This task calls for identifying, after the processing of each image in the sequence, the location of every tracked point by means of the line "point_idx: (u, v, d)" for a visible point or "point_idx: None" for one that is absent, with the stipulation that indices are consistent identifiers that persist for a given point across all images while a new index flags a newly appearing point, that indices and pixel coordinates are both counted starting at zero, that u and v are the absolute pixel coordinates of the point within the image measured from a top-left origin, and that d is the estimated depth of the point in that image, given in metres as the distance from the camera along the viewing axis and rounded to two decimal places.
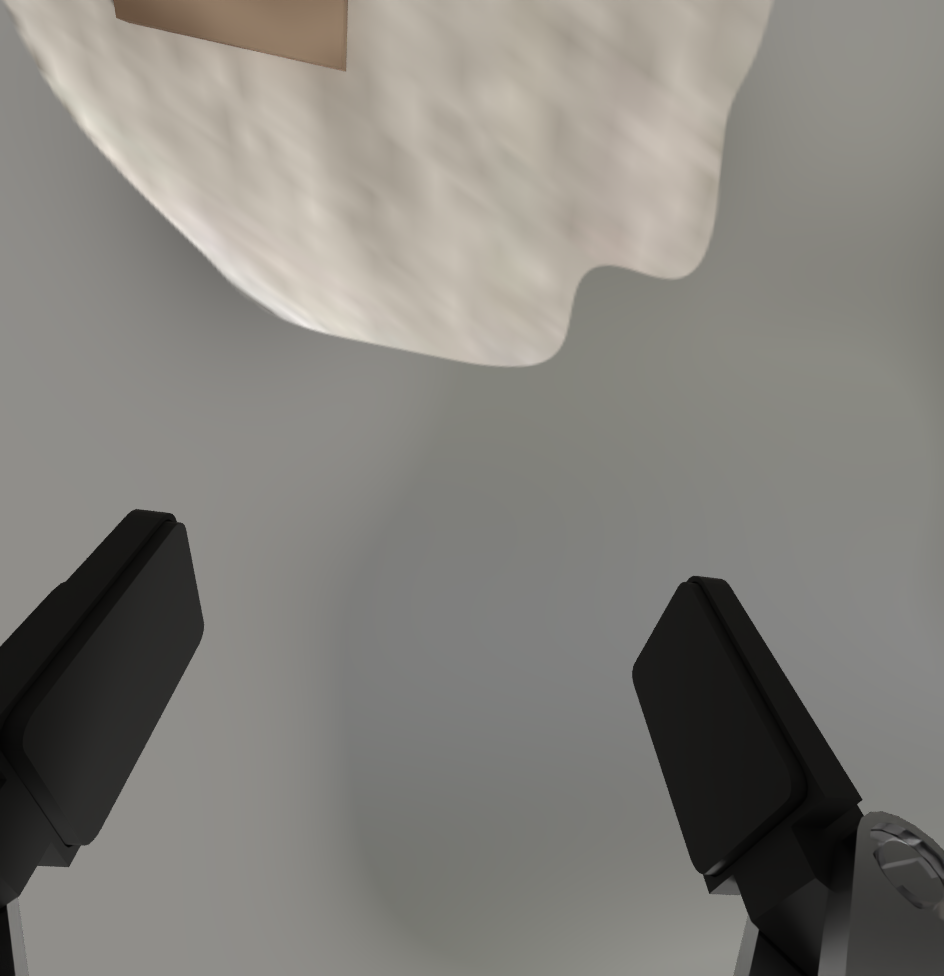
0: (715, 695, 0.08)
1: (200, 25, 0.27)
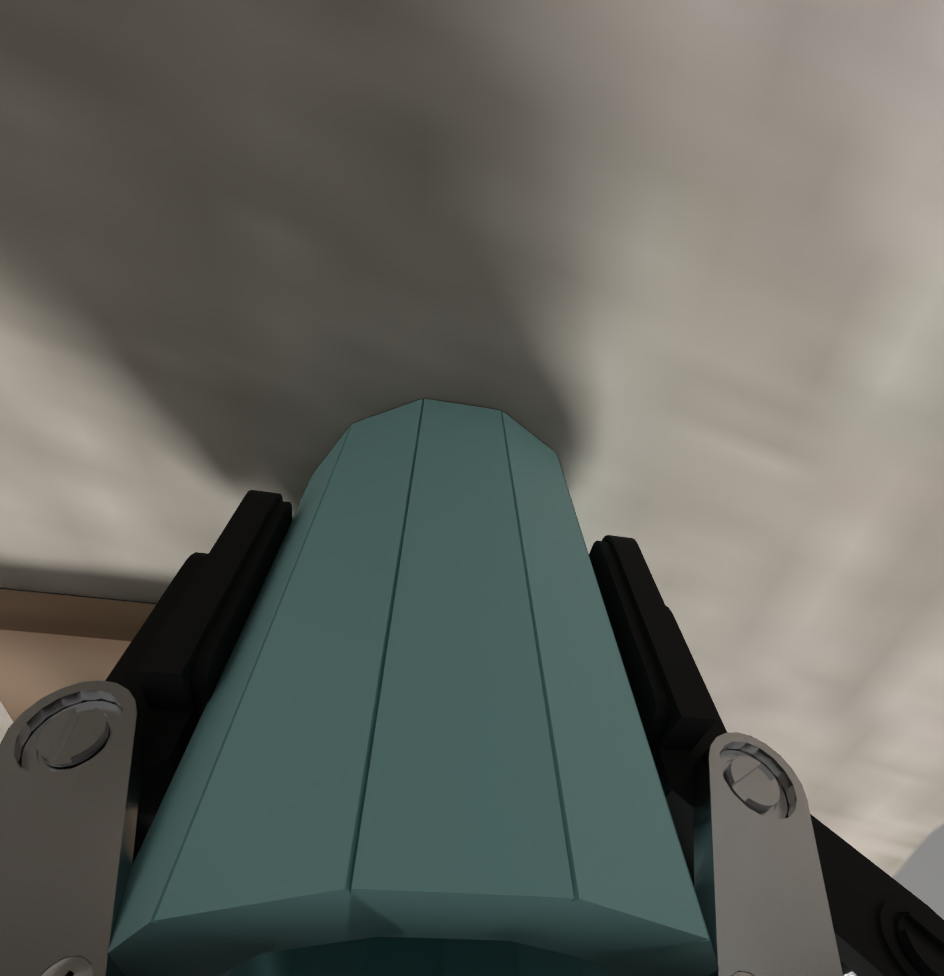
0: None
1: None
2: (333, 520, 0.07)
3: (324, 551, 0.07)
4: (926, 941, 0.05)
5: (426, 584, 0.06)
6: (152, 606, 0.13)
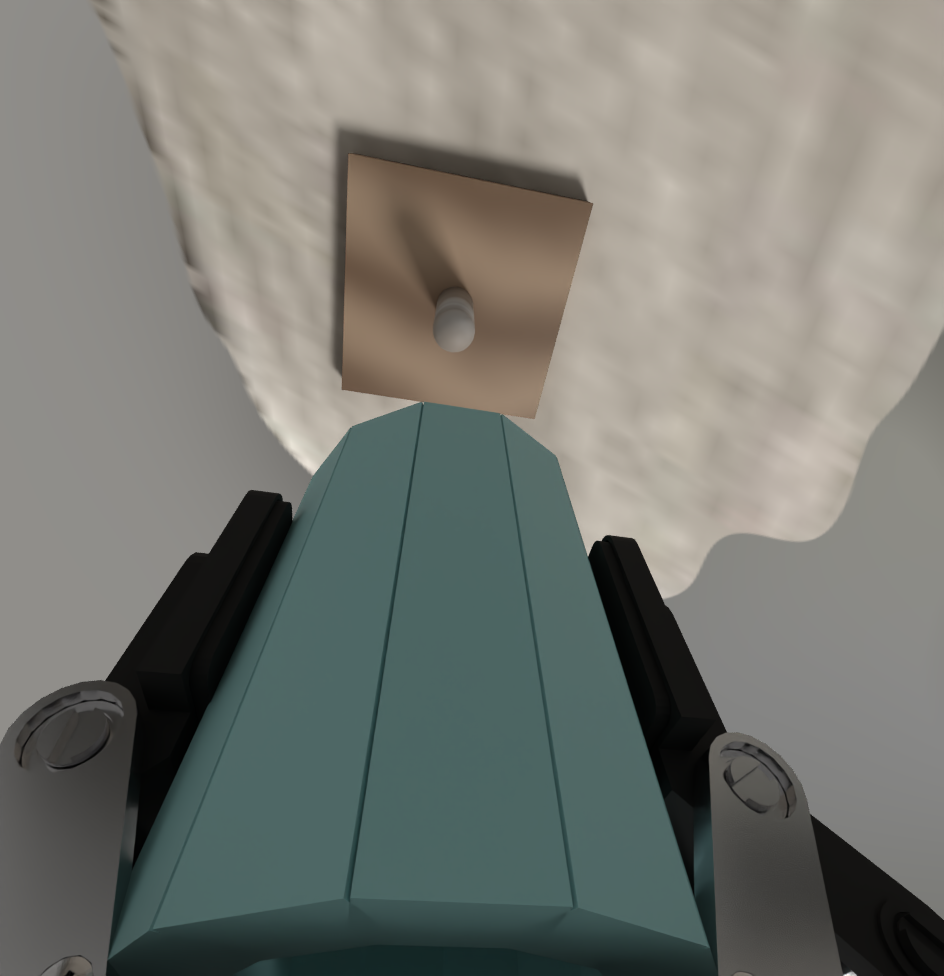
0: None
1: (415, 393, 0.30)
2: (333, 524, 0.07)
3: (323, 555, 0.07)
4: (926, 941, 0.05)
5: (425, 589, 0.06)
6: (431, 169, 0.25)
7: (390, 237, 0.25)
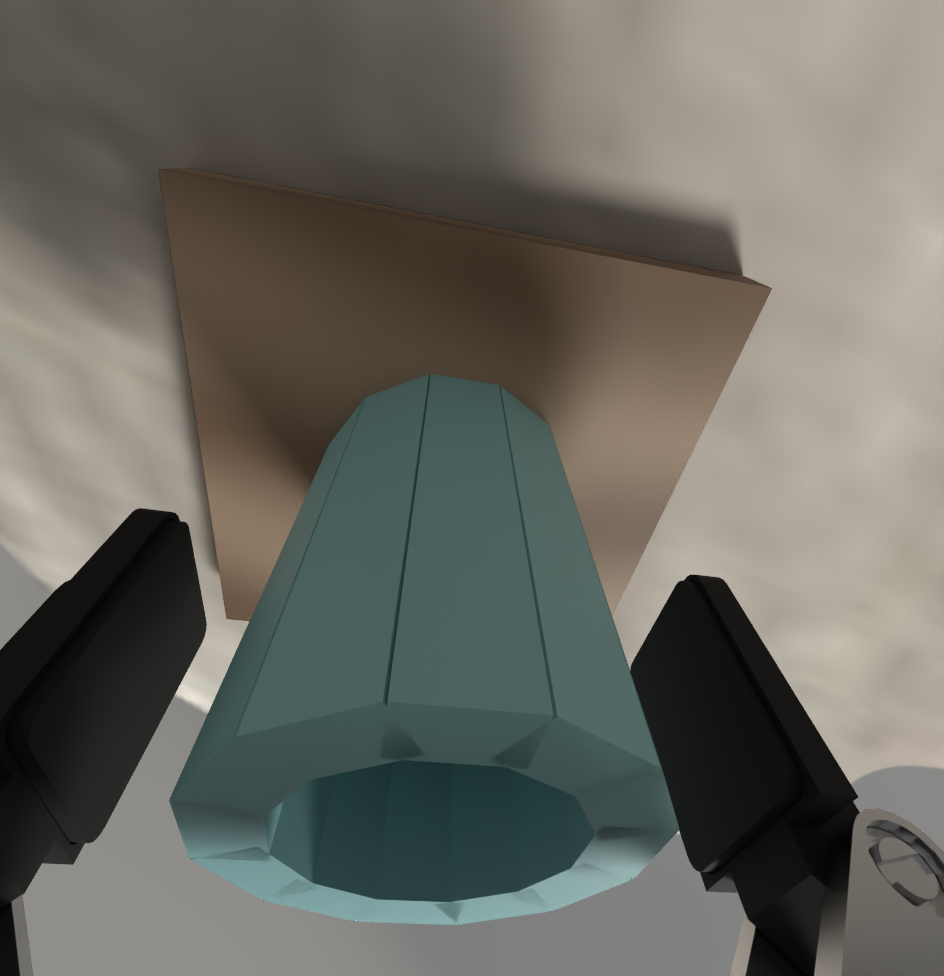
0: (712, 693, 0.08)
1: None
2: (354, 471, 0.08)
3: (348, 494, 0.08)
4: None
5: (436, 513, 0.07)
6: (383, 206, 0.10)
7: (291, 361, 0.11)
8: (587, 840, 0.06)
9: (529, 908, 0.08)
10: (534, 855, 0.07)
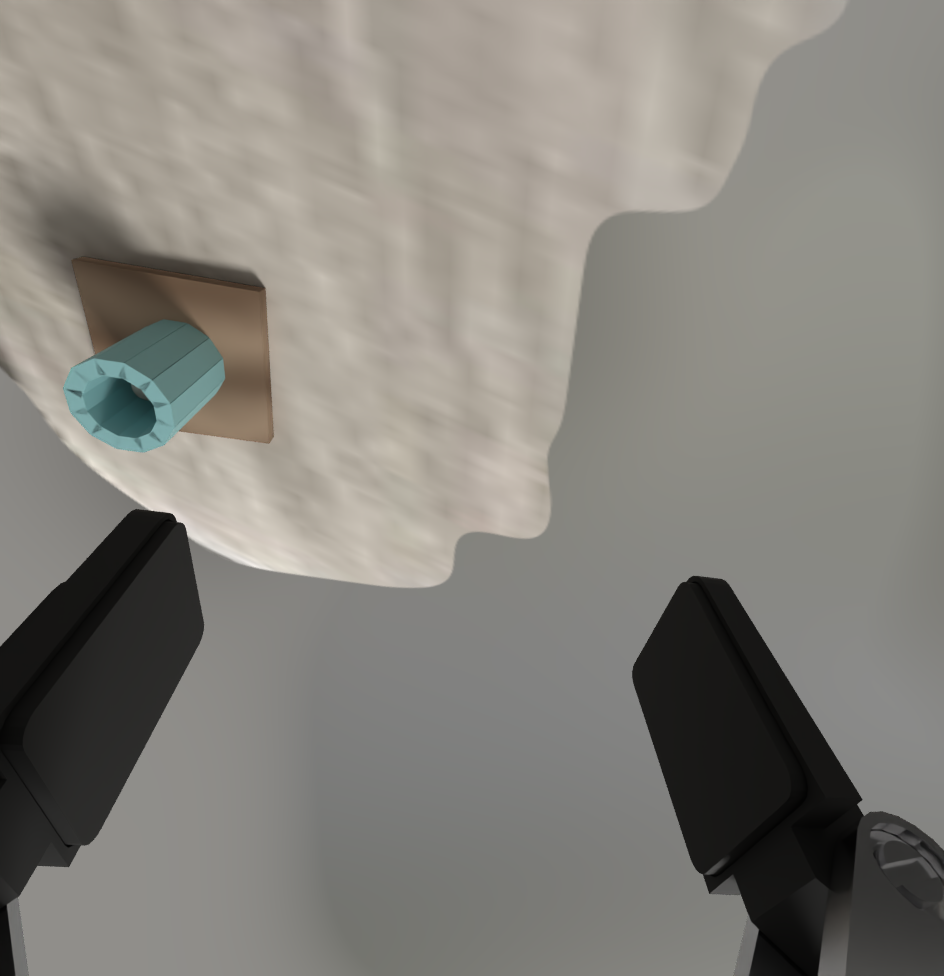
0: (715, 695, 0.08)
1: None
2: (121, 340, 0.32)
3: (116, 343, 0.32)
4: None
5: (128, 343, 0.31)
6: (142, 267, 0.34)
7: (118, 315, 0.35)
8: (155, 410, 0.30)
9: (157, 442, 0.31)
10: (155, 425, 0.31)
